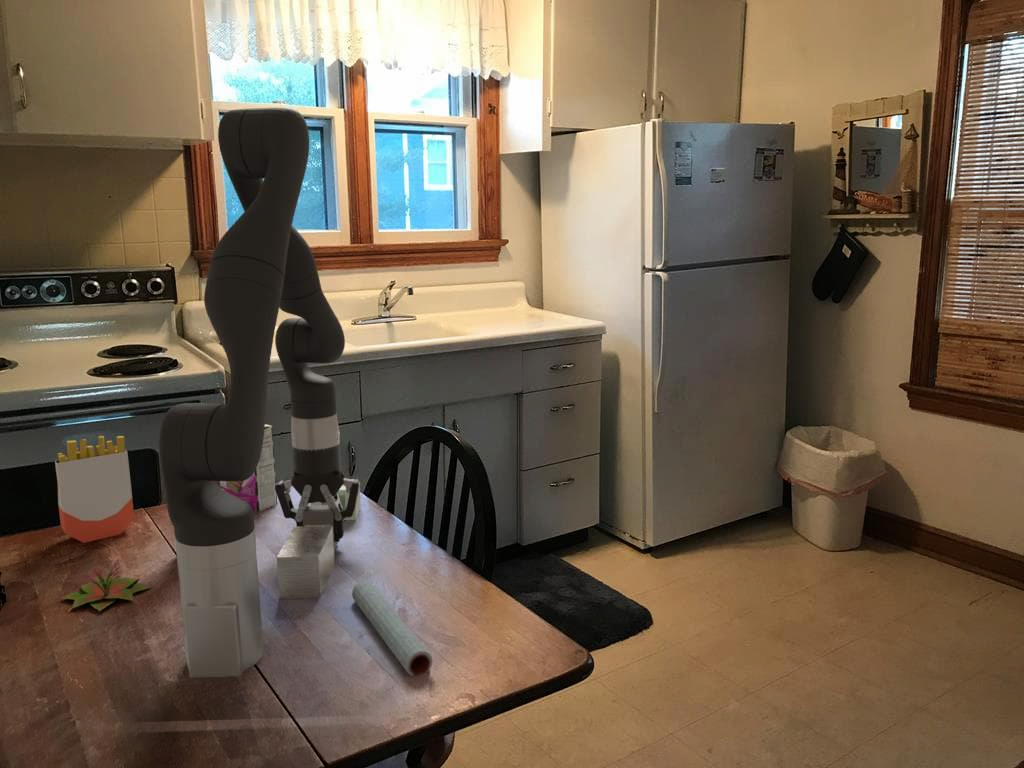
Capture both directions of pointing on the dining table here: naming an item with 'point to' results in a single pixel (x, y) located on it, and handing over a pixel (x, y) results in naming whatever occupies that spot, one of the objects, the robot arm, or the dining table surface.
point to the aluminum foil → (392, 629)
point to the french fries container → (94, 490)
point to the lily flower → (105, 590)
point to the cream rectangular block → (305, 562)
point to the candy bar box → (258, 479)
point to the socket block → (345, 502)
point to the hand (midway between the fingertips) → (321, 540)
